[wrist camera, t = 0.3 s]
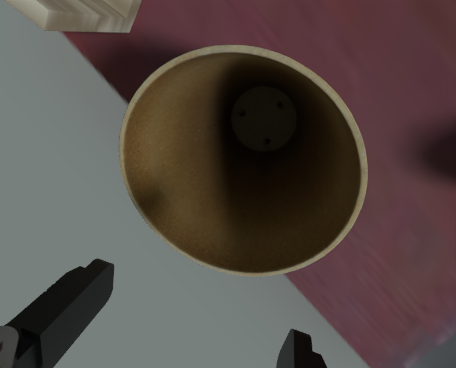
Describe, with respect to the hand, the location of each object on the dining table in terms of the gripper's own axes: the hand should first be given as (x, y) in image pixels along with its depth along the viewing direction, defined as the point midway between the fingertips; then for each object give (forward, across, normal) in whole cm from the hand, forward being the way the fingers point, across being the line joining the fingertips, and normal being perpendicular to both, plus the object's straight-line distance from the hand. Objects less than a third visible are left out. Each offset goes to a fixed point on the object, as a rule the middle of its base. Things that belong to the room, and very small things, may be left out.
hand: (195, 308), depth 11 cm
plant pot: (+22, 0, -5) cm, 23 cm away
